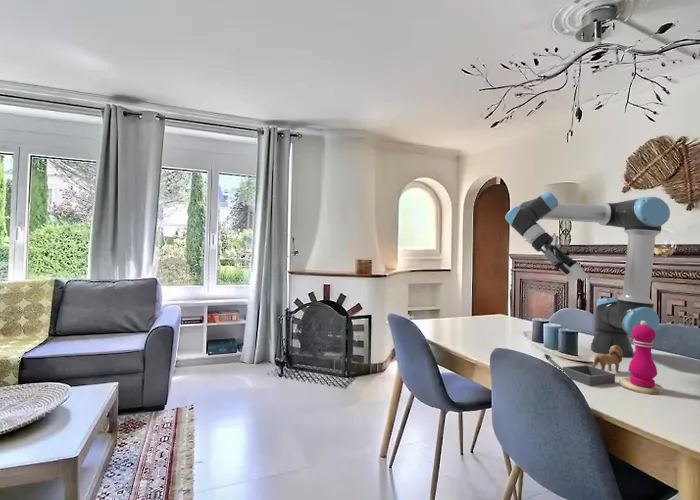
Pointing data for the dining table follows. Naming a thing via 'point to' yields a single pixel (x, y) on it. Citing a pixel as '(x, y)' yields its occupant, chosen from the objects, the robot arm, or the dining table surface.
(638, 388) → the cork coaster
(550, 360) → the paintbrush
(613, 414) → the dining table surface
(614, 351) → the lion figurine
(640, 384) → the pepper mill
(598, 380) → the dark gray square tray
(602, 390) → the dining table surface
